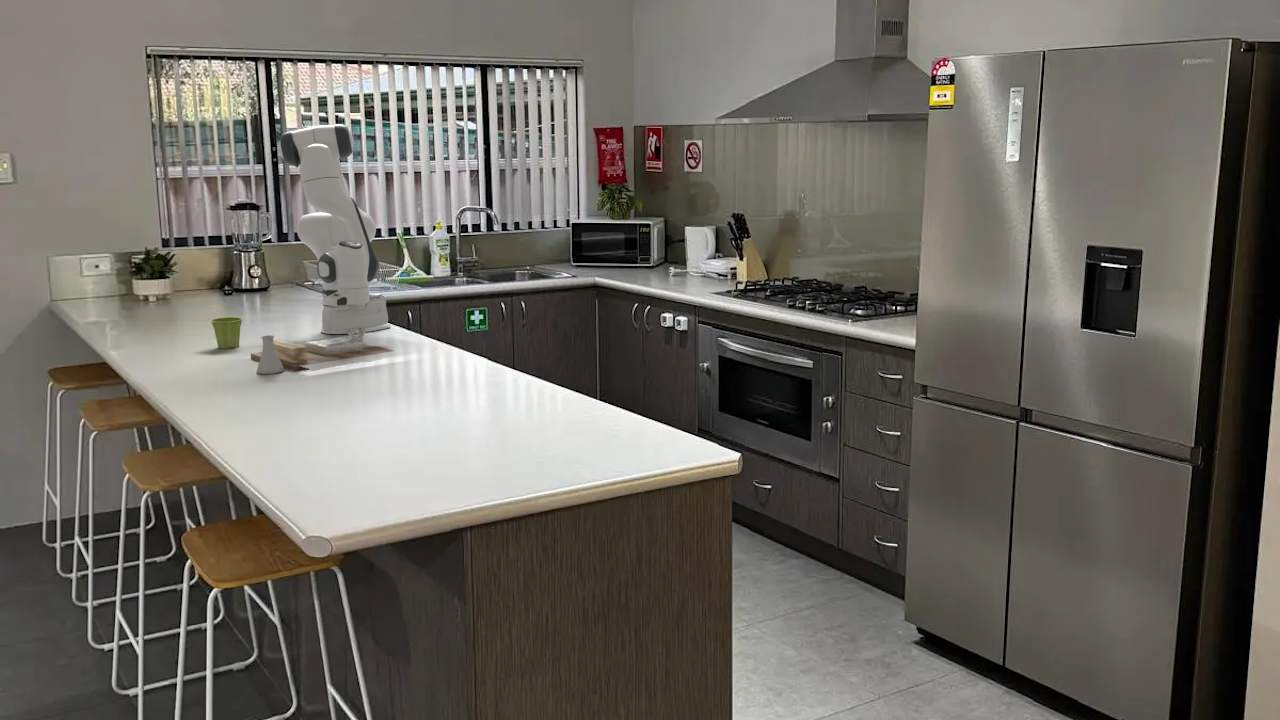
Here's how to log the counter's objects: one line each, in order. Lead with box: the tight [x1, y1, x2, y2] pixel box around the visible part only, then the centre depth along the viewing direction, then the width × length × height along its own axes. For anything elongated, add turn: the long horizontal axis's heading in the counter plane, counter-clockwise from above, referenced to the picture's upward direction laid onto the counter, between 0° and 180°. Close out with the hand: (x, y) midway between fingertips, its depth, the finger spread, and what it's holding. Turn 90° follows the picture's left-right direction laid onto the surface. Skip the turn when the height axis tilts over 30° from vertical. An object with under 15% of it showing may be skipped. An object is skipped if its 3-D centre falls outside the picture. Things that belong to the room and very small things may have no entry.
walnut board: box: [250, 343, 395, 372], centre depth 335 cm, size 31×28×2 cm
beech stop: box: [273, 338, 307, 363], centre depth 327 cm, size 4×18×4 cm, turn 43°
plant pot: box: [209, 316, 243, 350], centre depth 354 cm, size 9×9×9 cm
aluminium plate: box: [304, 336, 364, 356], centre depth 337 cm, size 12×12×2 cm
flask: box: [255, 334, 286, 375], centre depth 314 cm, size 7×7×10 cm
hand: (357, 343), depth 342 cm, fingers closed
